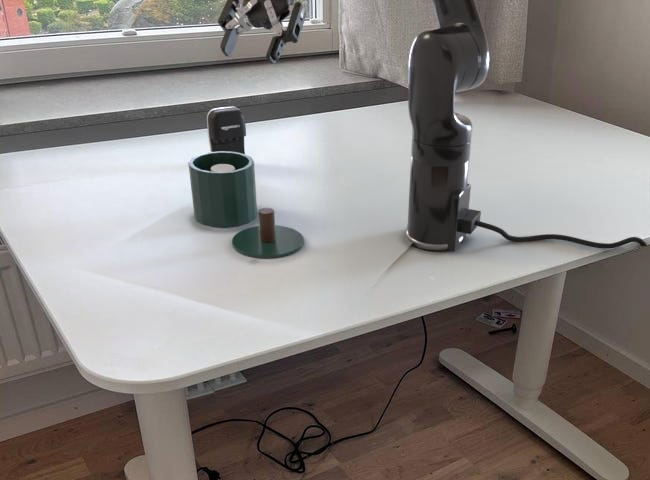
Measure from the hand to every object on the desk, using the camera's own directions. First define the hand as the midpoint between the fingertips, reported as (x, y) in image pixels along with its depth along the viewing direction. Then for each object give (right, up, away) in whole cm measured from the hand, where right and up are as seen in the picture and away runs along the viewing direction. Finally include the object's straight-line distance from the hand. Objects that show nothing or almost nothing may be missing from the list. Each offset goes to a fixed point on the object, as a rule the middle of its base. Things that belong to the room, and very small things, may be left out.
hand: (247, 57), depth 127 cm
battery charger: (-9, -12, +26) cm, 30 cm away
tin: (-5, -25, +6) cm, 27 cm away
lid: (+4, -31, -3) cm, 31 cm away
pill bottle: (-5, -25, +6) cm, 26 cm away
